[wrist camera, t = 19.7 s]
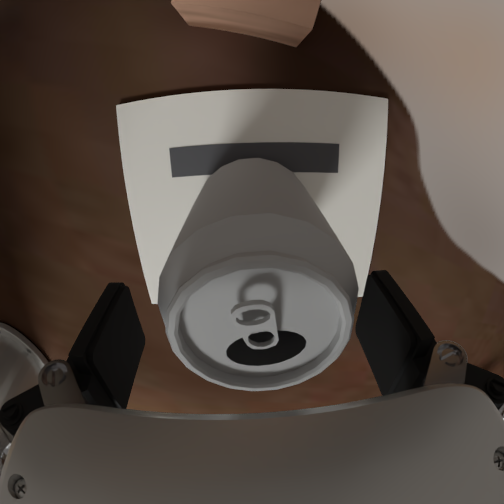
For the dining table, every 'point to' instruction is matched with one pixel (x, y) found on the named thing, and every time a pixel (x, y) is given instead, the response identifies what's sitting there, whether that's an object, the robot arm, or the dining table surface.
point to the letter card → (253, 146)
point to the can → (257, 282)
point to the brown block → (253, 17)
